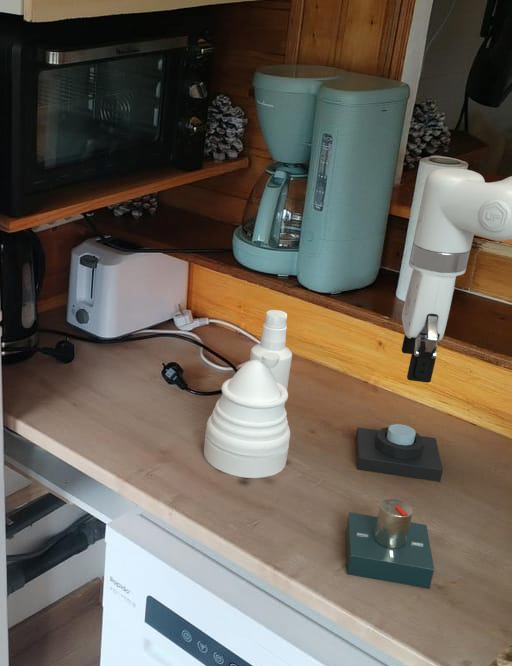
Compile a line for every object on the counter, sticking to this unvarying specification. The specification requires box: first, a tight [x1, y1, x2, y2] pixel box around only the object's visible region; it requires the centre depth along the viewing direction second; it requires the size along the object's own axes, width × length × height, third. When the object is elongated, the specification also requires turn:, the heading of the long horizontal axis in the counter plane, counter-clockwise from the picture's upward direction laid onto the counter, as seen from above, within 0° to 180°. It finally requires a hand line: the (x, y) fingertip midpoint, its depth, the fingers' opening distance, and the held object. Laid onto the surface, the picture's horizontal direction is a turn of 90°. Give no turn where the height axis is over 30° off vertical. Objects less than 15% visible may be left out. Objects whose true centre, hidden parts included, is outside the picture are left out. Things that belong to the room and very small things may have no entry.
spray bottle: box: [249, 309, 293, 408], centre depth 154 cm, size 7×7×18 cm
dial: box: [374, 498, 414, 548], centre depth 118 cm, size 4×4×5 cm
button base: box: [354, 426, 444, 483], centre depth 142 cm, size 12×10×4 cm
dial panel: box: [345, 512, 435, 589], centre depth 119 cm, size 10×10×3 cm
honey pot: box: [203, 352, 292, 479], centre depth 139 cm, size 13×13×18 cm
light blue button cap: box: [387, 423, 417, 445], centre depth 141 cm, size 4×4×2 cm
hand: (415, 366), depth 135 cm, fingers open, 9 cm apart
